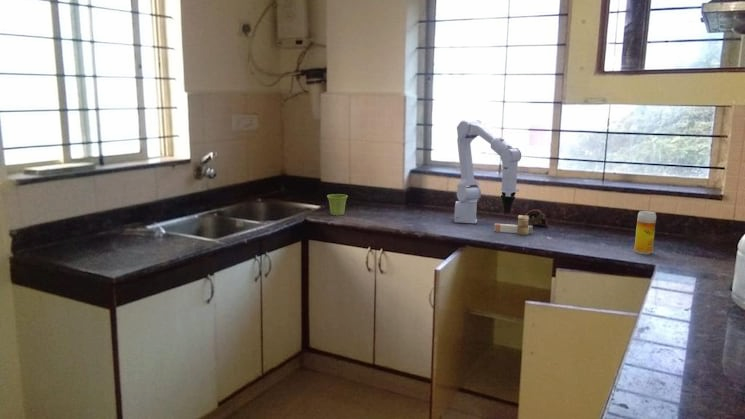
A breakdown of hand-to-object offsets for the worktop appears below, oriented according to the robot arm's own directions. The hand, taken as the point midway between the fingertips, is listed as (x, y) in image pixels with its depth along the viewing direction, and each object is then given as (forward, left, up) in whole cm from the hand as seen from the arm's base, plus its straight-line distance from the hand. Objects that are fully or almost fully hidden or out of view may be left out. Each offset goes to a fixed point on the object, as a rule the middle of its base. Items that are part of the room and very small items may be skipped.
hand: (507, 211), depth 247 cm
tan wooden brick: (+7, 0, -9) cm, 11 cm away
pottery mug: (+12, +14, -9) cm, 21 cm away
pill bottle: (+49, -20, -9) cm, 54 cm away
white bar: (+3, 0, -9) cm, 9 cm away
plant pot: (-76, +11, -9) cm, 77 cm away
